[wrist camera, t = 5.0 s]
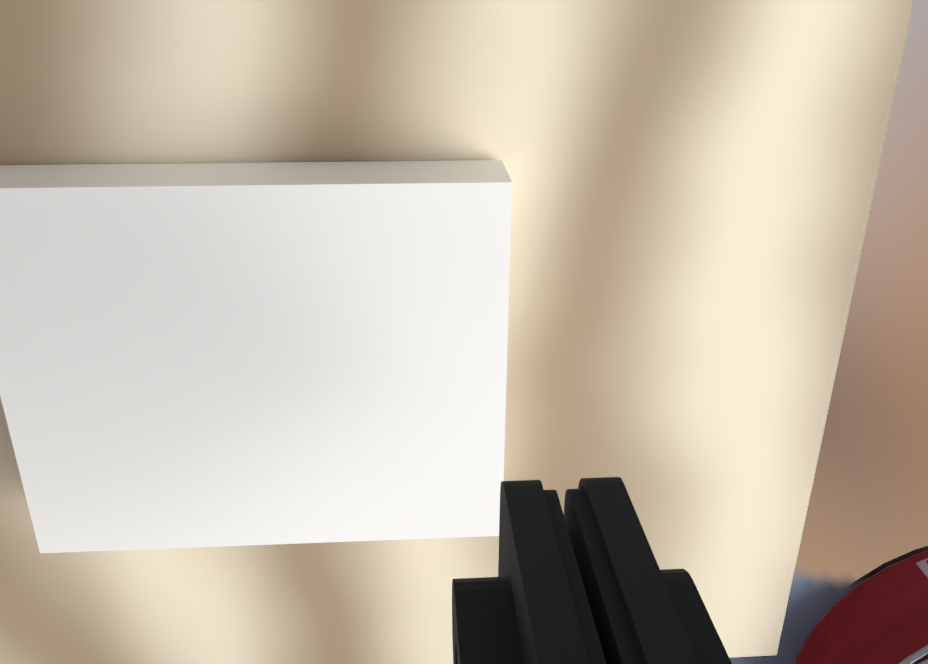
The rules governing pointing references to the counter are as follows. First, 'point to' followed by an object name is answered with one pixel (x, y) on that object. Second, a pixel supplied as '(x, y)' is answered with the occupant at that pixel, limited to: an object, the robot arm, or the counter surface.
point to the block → (255, 350)
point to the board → (530, 283)
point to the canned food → (876, 618)
